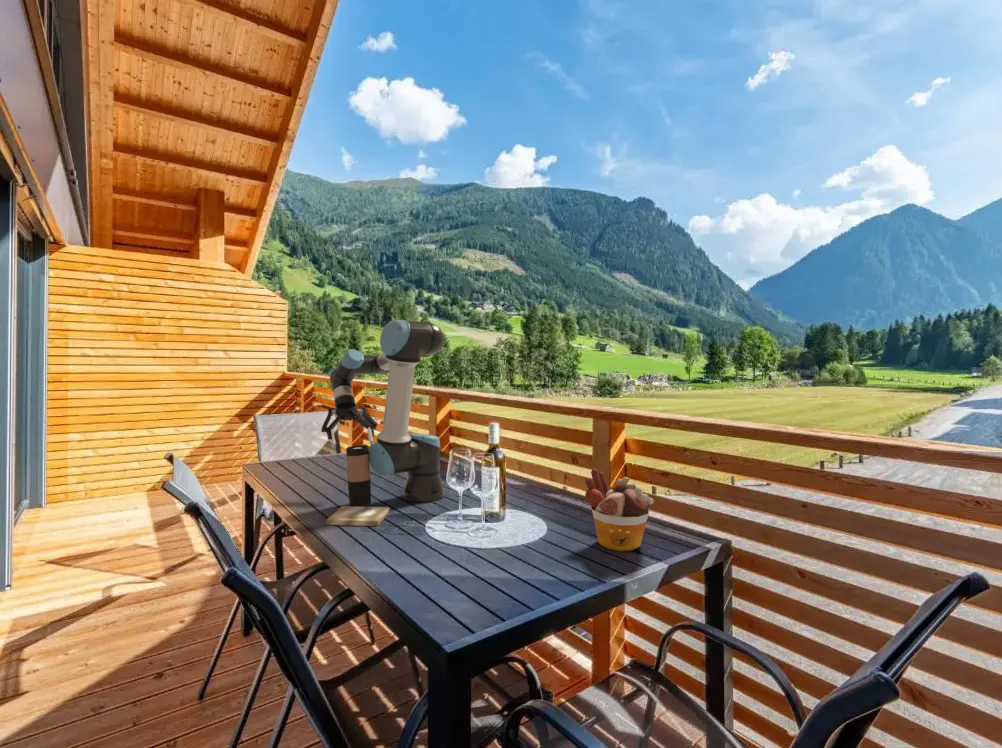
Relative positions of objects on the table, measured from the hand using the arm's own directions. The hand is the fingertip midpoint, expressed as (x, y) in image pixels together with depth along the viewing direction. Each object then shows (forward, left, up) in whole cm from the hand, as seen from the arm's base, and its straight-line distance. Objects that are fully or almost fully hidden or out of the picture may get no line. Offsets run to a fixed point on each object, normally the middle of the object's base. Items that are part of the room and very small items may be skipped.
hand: (353, 444), depth 186 cm
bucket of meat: (-88, +40, -20) cm, 99 cm away
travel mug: (-5, +9, -19) cm, 22 cm away
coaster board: (-9, +23, -19) cm, 31 cm away
